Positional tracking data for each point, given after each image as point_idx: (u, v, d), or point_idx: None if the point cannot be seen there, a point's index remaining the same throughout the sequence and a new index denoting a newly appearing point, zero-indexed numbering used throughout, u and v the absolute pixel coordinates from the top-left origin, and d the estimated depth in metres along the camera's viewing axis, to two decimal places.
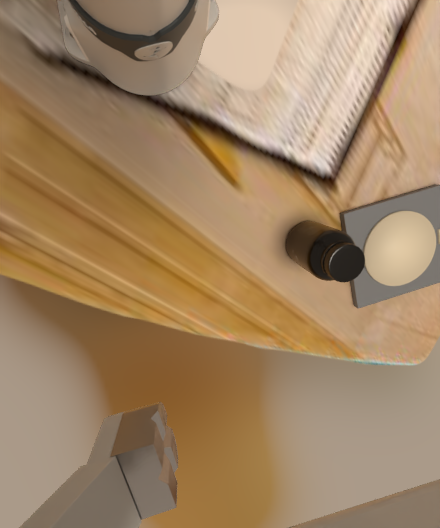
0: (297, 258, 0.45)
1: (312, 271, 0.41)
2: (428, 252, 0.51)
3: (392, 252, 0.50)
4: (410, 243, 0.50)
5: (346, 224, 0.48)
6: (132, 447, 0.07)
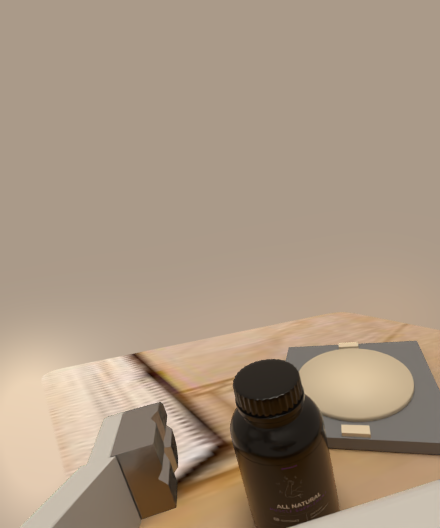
0: (281, 504, 0.21)
1: (284, 453, 0.20)
2: (365, 354, 0.39)
3: (351, 385, 0.34)
4: (345, 368, 0.37)
5: None
6: (132, 447, 0.07)
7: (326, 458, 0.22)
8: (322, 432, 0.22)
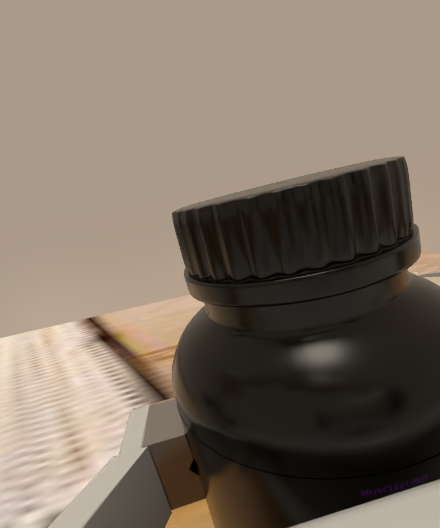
0: None
1: (374, 424, 0.04)
2: (437, 282, 0.23)
3: None
4: None
5: None
6: (163, 438, 0.07)
7: None
8: None
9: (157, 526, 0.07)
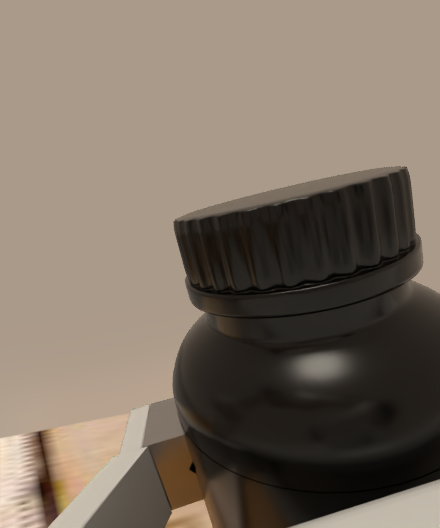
0: None
1: (375, 438, 0.04)
2: None
3: None
4: None
5: None
6: (163, 438, 0.07)
7: None
8: None
9: (158, 525, 0.07)
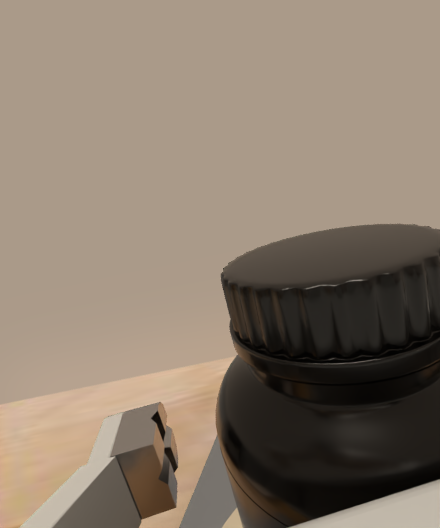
0: None
1: None
2: None
3: None
4: None
5: None
6: (132, 447, 0.07)
7: None
8: None
9: None
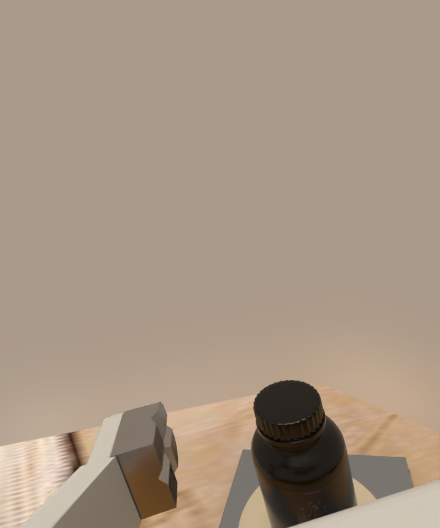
0: None
1: (307, 478, 0.20)
2: None
3: None
4: None
5: None
6: (132, 447, 0.07)
7: (349, 481, 0.22)
8: (344, 455, 0.22)
9: None
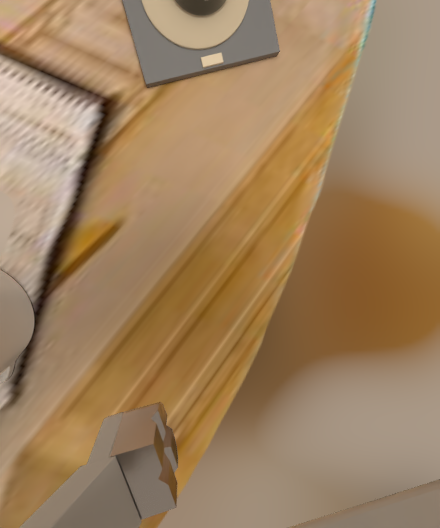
0: None
1: None
2: None
3: None
4: None
5: (159, 78, 0.37)
6: (132, 447, 0.07)
7: None
8: None
9: None
